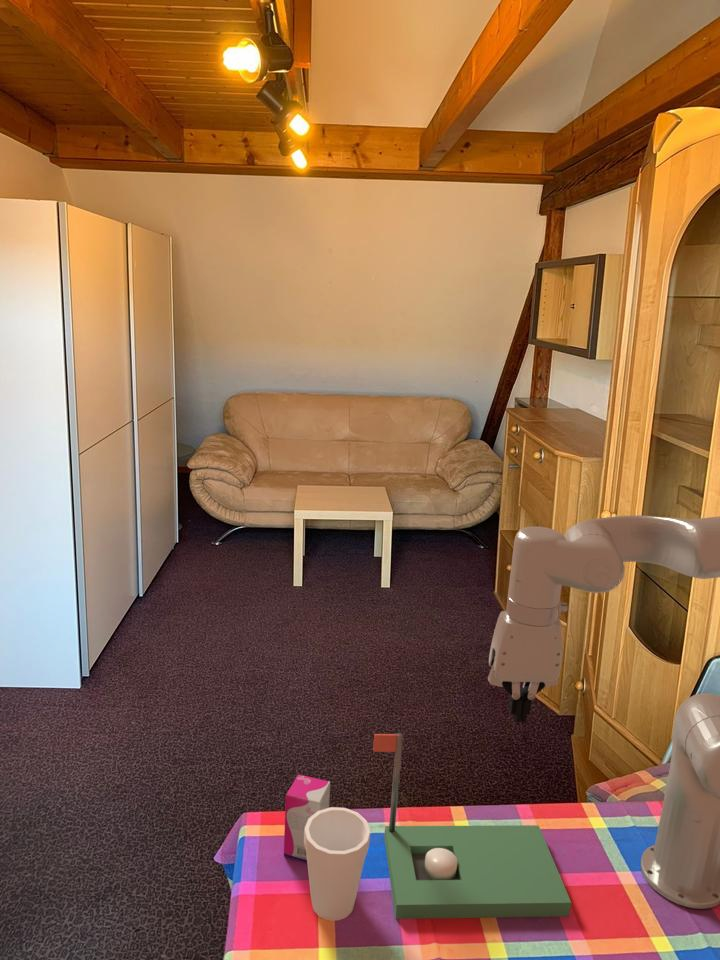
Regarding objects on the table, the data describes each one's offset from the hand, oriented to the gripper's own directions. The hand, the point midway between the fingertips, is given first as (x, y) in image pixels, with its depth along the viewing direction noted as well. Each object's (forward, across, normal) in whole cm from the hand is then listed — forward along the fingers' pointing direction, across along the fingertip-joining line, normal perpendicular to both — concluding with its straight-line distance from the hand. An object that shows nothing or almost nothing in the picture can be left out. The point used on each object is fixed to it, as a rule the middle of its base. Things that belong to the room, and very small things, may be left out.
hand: (518, 717), depth 117 cm
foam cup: (+25, +28, +10) cm, 39 cm away
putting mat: (+25, +8, +5) cm, 27 cm away
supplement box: (+25, +32, -1) cm, 41 cm away
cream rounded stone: (+24, +11, +5) cm, 27 cm away
